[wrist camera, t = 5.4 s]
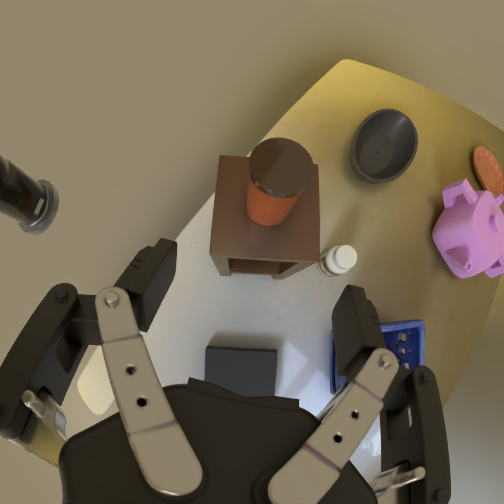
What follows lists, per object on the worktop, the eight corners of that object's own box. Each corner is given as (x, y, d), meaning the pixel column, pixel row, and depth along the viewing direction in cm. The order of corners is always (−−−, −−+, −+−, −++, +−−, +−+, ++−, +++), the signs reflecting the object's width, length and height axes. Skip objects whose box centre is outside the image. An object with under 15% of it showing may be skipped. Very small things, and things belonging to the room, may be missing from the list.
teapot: (425, 279, 46) (478, 269, 31) (418, 193, 49) (462, 164, 35) (478, 281, 47) (525, 273, 32) (471, 208, 50) (512, 188, 36)
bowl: (413, 148, 52) (427, 135, 45) (372, 210, 48) (388, 199, 42) (373, 113, 52) (384, 97, 46) (324, 167, 49) (335, 151, 42)
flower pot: (387, 315, 44) (427, 316, 33) (386, 383, 42) (423, 400, 30) (320, 323, 43) (349, 329, 32) (320, 397, 41) (346, 423, 29)
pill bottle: (312, 265, 45) (327, 258, 37) (327, 246, 46) (344, 235, 38) (331, 282, 45) (349, 278, 37) (345, 262, 46) (365, 255, 38)
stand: (220, 275, 44) (209, 254, 24) (225, 215, 46) (219, 155, 26) (282, 279, 44) (319, 261, 25) (284, 220, 46) (318, 164, 27)
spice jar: (242, 225, 25) (247, 191, 17) (246, 181, 26) (250, 134, 18) (290, 229, 25) (315, 197, 17) (291, 185, 26) (312, 141, 18)
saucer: (505, 195, 53) (511, 192, 50) (484, 206, 51) (492, 202, 48) (484, 148, 55) (489, 144, 52) (460, 151, 53) (467, 147, 50)
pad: (205, 397, 40) (203, 401, 38) (207, 345, 42) (205, 347, 40) (271, 400, 41) (273, 404, 39) (275, 349, 42) (277, 351, 40)
